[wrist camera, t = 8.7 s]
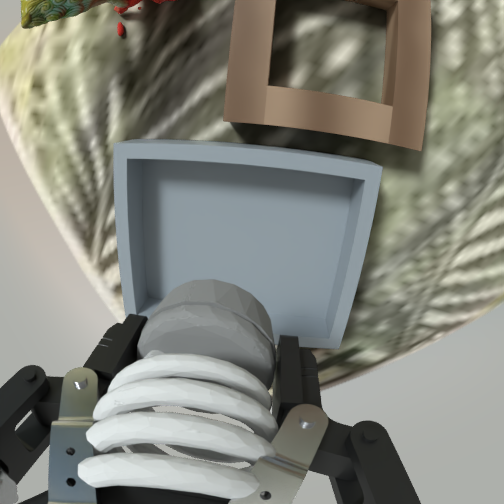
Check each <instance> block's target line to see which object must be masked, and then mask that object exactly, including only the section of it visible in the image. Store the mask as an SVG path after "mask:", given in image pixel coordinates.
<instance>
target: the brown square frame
mask: <svg viewBox="0 0 504 504" xmlns="http://www.w3.org/2000/svg"><path fill="white" fill-rule="evenodd" d="M345 1H350V2H355V3H359V4H363V5H367V6H371V7H375V8H379V9H383V10H386V11H387V25H386V49H385V65H384V78H383V90H382V100H381V104H380V103H375V102H371V101H366V100H362V99H357V98H352V97H346V96H341V95H335V94H329V93H323V92H316V91H310V90H302V89H294V88H286V87H277V86H269V77H270V67H271V56H272V46H273V35H274V24H275V14H276V3H277V0H235V7H234V15H233V24H232V33H231V43H230V52H229V62H228V73H227V83H226V95H225V106H224V118H223V121H225V122H240V123H253V124H264V125H274V126H283V127H292V128H300V129H307V130H315V131H321V132H328V133H334V134H340V135H346V136H352V137H357V138H363V139H368V140H373V141H378V142H383V143H388V144H392V145H397V146H401V147H405V148H410V149H414V150H418V151H421V150H422V144H423V137H424V129H425V121H426V112H427V103H428V91H429V78H430V59H431V1H430V0H345Z"/></svg>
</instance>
